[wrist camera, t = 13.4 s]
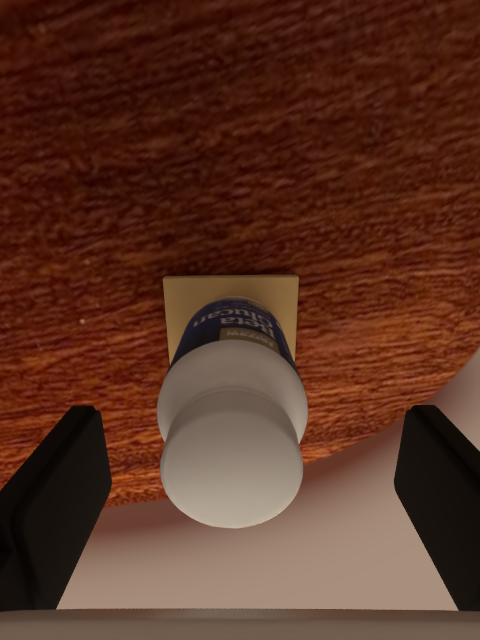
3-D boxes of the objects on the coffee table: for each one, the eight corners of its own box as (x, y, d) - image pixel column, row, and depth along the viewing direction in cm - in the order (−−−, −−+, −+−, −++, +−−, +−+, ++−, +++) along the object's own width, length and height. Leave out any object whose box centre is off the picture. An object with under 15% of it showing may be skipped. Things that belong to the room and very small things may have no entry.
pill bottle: (274, 283, 18) (318, 371, 8) (289, 375, 19) (341, 531, 10) (172, 303, 18) (106, 411, 9) (196, 392, 20) (163, 561, 10)
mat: (296, 274, 18) (299, 276, 17) (291, 390, 20) (293, 395, 20) (164, 275, 18) (162, 278, 17) (173, 392, 20) (172, 397, 20)
